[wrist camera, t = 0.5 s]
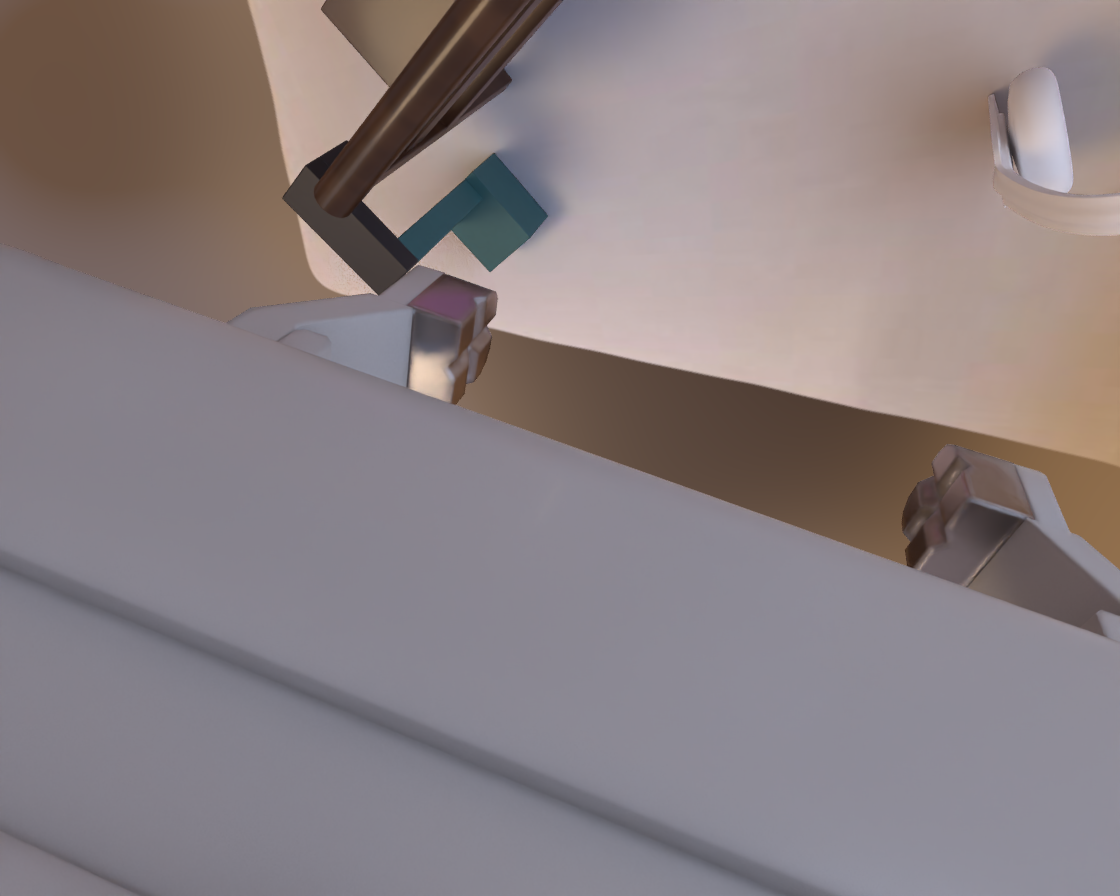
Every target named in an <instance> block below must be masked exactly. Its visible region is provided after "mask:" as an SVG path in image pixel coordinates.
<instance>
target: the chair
mask: <svg viewBox="0 0 1120 896" xmlns="http://www.w3.org/2000/svg"><path fill="white" fill-rule="evenodd" d="M562 1H563V0H326V1H325V3H324V5H323V6H322V8H321V10H322V11H323V13H324V14H325V15H326V16H327V17H328V18H329V19H330V21H331V22H332V23H333V24H334V25H335V26H336V27H337V28H338V30H339V31H340V32H341V33H342V34H343V35H344V36H345V37H346V39H347V40H348V41H349V42H350V43H351V44H352V45H353V47H354V48H355V49H356V50H357V51H358V52H359V53H360V54H361V56H362V57H363V58H364V59H365V60H366V61H367V62H368V64H369V65H370V66H371V67H372V68H373V69H374V70H375V71H376V73H377V74H378V75H379V76H380V77H381V78H382V79H383V81H384V82H385V83H386V84H387V85H388V86H389V89H388V90H387V91H386V93H385V94H384V95H383V97H382V98H381V99H380V101H379V102H378V103H377V105H376V106H375V107H374V109H373V110H372V111H371V113H370V114H369V115H368V117H367V118H366V119H365V121H364V122H363V123H362V125H361V126H360V127H359V128H358V130H357V131H356V132H355V134H354V135H353V136H352V138H351V139H350V140H349V142H348V143H347V144H346V146H345V147H344V148H343V150H342V151H341V152H340V154H339V155H338V156H337V158H336V159H335V160H334V162H333V163H332V164H331V166H330V167H329V168H328V170H327V171H326V172H325V174H324V175H323V176H322V177H321V179H320V180H319V181H318V183H317V184H316V185H315V187H314V197H315V200H316V202H317V203H318V205H319V206H320V207H321V208H322V209H323V210H324V211H325V212H326V213H328V214H330V215H331V216H334V217H337V218H345V217H348V216H349V215H350V214H351V213H352V212H353V210H354V209H355V208H356V207H357V206H358V205H359V203H360V202H361V201H362V200H363V199H364V197H365V196H366V195H367V194H368V193H369V191H370V190H371V189H372V188H373V187H374V186H375V185H376V184H378V183H379V182H380V181H382V180H383V179H384V178H386V177H387V176H389V175H390V174H391V173H393V172H394V171H395V170H397V169H398V168H399V167H401V166H402V165H403V164H405V163H406V162H408V161H409V160H410V159H412V158H413V157H414V156H416V155H417V154H418V153H420V152H421V151H422V150H424V149H425V148H427V147H428V146H429V145H431V144H432V143H433V142H435V141H436V140H438V139H439V138H440V137H442V136H443V135H444V134H446V133H447V132H448V131H450V130H451V129H452V128H454V127H455V126H457V125H458V124H459V123H461V122H462V121H463V120H465V119H466V118H467V117H469V116H470V115H471V114H473V113H474V112H476V111H477V110H478V109H480V108H481V107H482V106H484V105H485V104H486V103H488V102H489V101H490V100H492V99H493V98H495V97H496V96H497V95H499V94H500V93H501V92H503V91H504V89H505V88H506V87H507V86H508V85H509V84H510V83H511V82H512V79H511V78H510V76H509V75H508V74H507V73H506V71H505V70H504V69H503V68H504V67H505V66H506V65H507V64H508V63H509V62H510V60H511V59H512V58H513V57H514V56H515V55H516V54H517V52H518V51H519V50H520V49H521V48H522V47H523V46H524V44H525V43H526V42H527V41H528V40H529V39H530V38H531V36H532V35H533V34H534V33H535V32H536V31H537V30H538V29H539V27H540V26H541V25H542V24H543V23H544V22H545V21H546V19H547V18H548V17H549V16H550V15H551V14H552V13H553V11H554V10H555V9H556V8H557V7H558V6H559V5H560V4H561V2H562Z"/></svg>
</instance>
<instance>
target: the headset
mask: <svg viewBox="0 0 1120 896" xmlns="http://www.w3.org/2000/svg"><path fill="white" fill-rule="evenodd" d="M988 100H989V114H990V126H991V138H992V148H993V155H994V161H995V167H994V175H993V188H994V190H995V191H996V192H997V193H999V194H1000V195H1001V196H1002V199H1003V204H1004V207H1005V208H1006V207H1009V208H1010V209H1012V210H1013V211H1014V212H1016V213H1017V214H1019V215H1021V216H1022V217H1024V218H1026V219H1028V220H1030V221H1032V222H1034V223H1036V224H1038V225H1041V226H1043V227H1046V228H1049V229H1053V230H1056V231H1061V232H1066V233H1071V234H1079V235H1093V236H1109V235H1120V193H1115V194H1101V195H1077V194H1068V193H1067V192H1068V191H1069V190H1070V189H1071V187H1072V184H1073V167H1072V160H1071V153H1070V146H1069V140H1068V134H1067V128H1066V123H1065V117H1064V112H1063V107H1062V101H1061V97H1060V92H1059V87H1058V83H1057V79H1056V77H1055V75H1054V73H1053V72H1052V71H1051V70H1050V69H1048V68H1043V67H1038V68H1032V69H1029V70H1026V71H1024V72H1022V73H1021V74H1019V75H1018V76H1017V77H1016V78H1015V79H1014V80H1013V81H1012V82H1011V84H1010V87H1009V97H1008V100H1007V101H1008V125H1009V135H1008V131H1007V126H1006V122H1005V117H1004V113H1000V114H999V112H998V107H997V104H996V101H995V97H994V94H992V95H989V98H988ZM1012 156H1013V159H1014V161H1015V164H1016V167H1017V170H1018V173H1019V175H1018V174H1017V173H1015V172H1014V169H1013V160H1012Z"/></svg>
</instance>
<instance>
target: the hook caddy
mask: <svg viewBox="0 0 1120 896" xmlns="http://www.w3.org/2000/svg"><path fill="white" fill-rule="evenodd" d="M348 142H349V141H347V140H346V141H344V142H343V143H341V144H340V145H338V146H336V147H335V148H333V149H331V150H330V151H328V152H326V153H325V154H323V155H321V156H320V157H318V158H317V159H315V160H313V161H312V162H310V163H308V164H307V165H305V167H304V168H303V169H302V171H301V172H300V174H299V175H298V176H297V178H296V179H295V181H294V182H293V183H292V185H291V186H290V187H289V189H288V190H287V192H286V193H285V194H284V196H283V199H284V201H285V202H286V203H287V204H288V205H289V206H290V207H291V208H292V209H293V210H294V211H295V212H296V213H297V214H298V215H299V216H300V217H301V218H302V219H303V220H304V221H305V222H306V223H307V224H308V225H309V226H310V227H311V228H312V229H313V230H314V231H315V232H316V233H317V234H318V235H319V236H320V237H321V238H322V239H323V240H324V241H325V242H326V243H327V244H328V245H329V246H330V247H331V248H332V249H333V250H334V251H335V252H336V253H337V254H338V255H339V256H340V257H341V258H342V259H343V260H344V261H345V262H346V263H347V264H348V265H349V266H350V267H351V268H352V269H353V270H354V271H355V272H356V273H357V274H358V275H359V276H360V277H361V278H362V279H363V280H364V281H365V282H366V283H367V284H368V285H369V286H370V287H371V288H372V289H373V290H374V291H375V292H376V293H377V294H378V295H380V294H381V293H382V292H384V291H385V290H386V289H387V288H389V287H390V286H391V285H393V284H394V283H395V282H397V281H398V280H399V279H400V278H402V277H403V276H404V275H405V274H406V273H407V272H408V271H409V270H410V269H411V268H412V267H413V266H414V265H415V264H417V263H418V262H419V261H420V260H421V259H422V258H423V257H424V256H425V255H426V254H427V253H428V252H429V251H430V250H431V249H432V248H433V247H434V246H435V245H436V244H437V243H438V242H439V241H440V240H441V239H442V238H443V237H444V236H446V235H447V234H448V233H449V232H450V231H451V230H452V231H453V233H454V234H455V235H456V236H457V237H458V238H459V239H460V240H461V241H462V242H463V243H464V245H465V246H466V247H467V248H468V249H469V250H470V251H471V252H472V253H473V254H474V255H475V257H476V258H477V259H478V260H479V261H480V262H481V263H482V264H483V265H484V266H485V267H486V269H487V270H488V271H489V272H491V271H492V270H493V269H494V268H496V267H497V266H498V265H499V264H500V263H501V262H502V261H504V260H505V259H506V258H507V257H508V256H509V255H511V254H512V253H513V252H514V251H515V250H516V249H518V248H519V247H520V246H521V245H522V244H523V243H524V242H526V241H527V240H528V239H529V238H530V237H531V236H532V235H533V234H534V232H535V231H536V230H537V229H538V227H539V226H540V225H541V224H542V223H543V221H544V220H545V219H546V218H547V217H548V215H547V214H546V213H545V212H544V211H543V209H542V208H541V207H540V206H539V205H538V204H537V202H536V201H535V200H534V199H533V198H532V197H531V195H530V194H529V193H528V192H527V191H526V190H525V188H524V187H523V186H522V185H521V184H520V183H519V181H518V180H517V179H516V178H515V177H514V176H513V174H512V173H511V172H510V171H509V170H508V169H507V167H506V166H505V165H504V164H503V163H502V162H501V160H500V159H499V158H498V157H497V156H496V155H495V153H493V154H492V155H491V156H490V157H489V158H488V159H486V160H485V161H484V162H483V163H482V164H481V165H480V166H478V167H477V168H476V169H475V170H474V171H473V172H472V173H471V174H470V175H469V176H468V177H467V178H466V179H465V180H464V181H462V182H461V183H460V184H459V185H458V186H457V187H456V188H454V189H453V190H452V191H451V192H450V193H449V194H448V195H447V196H445V197H444V198H443V199H442V200H441V201H440V202H439V203H437V204H436V205H435V206H434V207H433V208H432V209H431V210H429V211H428V212H427V213H426V214H425V215H424V216H423V217H421V218H420V219H419V220H418V221H417V222H416V223H415V224H413V225H412V226H411V227H410V228H409V229H408V230H407V231H405V232H404V233H403V234H402V235H401V236H400V237H399V238H397V237H396V236H395V235H394V234H393V233H392V232H391V231H390V230H389V229H388V228H387V227H386V226H385V225H384V224H383V223H382V222H381V220H380V219H379V218H378V217H377V216H376V215H375V214H374V213H373V212H372V211H371V210H370V209H369V208H368V207H367V206H366V205H365V204H364V203H363V202H362V201H361V202H360V203H359V205H358V206H357V207H356V208H355V209H354V210H353V212H352V213H351V214H350V215H349V216H348V217H345V218H337V217H334V216H331V215H330V214H328V213H326V212H325V211H324V210H323V209H322V208H321V207H320V206H319V205H318V203H317V202H316V200H315V197H314V187H315V185H316V184H317V183H318V181H319V180H320V179H321V177H322V176H323V175H324V174H325V172H326V171H327V170H328V168H329V167H330V166H331V164H332V163H333V162H334V160H335V159H336V158H337V156H338V155H339V154H340V152H341V151H342V150H343V148H344V147H345V146H346V144H347V143H348Z"/></svg>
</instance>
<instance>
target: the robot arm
mask: <svg viewBox="0 0 1120 896" xmlns="http://www.w3.org/2000/svg"><path fill="white" fill-rule="evenodd" d="M497 300H498V298H497V293H496V291H493V290H490V289H487V288H484V287H481V286H479V285H476V284H473V283H470V282H467V281H465V280H462V279H459V278H456V277H453V276H450V275H447V274H445V273H444V272H441V271H437V270H434V269H430V268H427V267H424V266H420V265H418V266H416V267H415V268H413V269H412V270H411V271H410V272H408V273H407V274H406V275H404V276H403V277H402V278H400V279H399V280H398V281H397V282H395V283H394V284H393V285H391V286H390V287H389V288H387V289H386V290H385V291H384V292H382V293H381V294H380V295H378V296H377V295H374V294H371V293H368V294H360V295H352V296H344V297H336V298H327V299H320V300H311V301H303V302H295V303H287V304H278V305H271V306H262V307H254V308H250V309H248V310H246V311H245V312H243V313H241V314H240V315H238V316H236V317H235V318H233V319H232V320H230V321H228V322H227V323H223V322H220V321H218V320H215V319H212V318H209V317H206V316H204V315H201V314H198V313H195V312H192V311H190V310H187V309H184V308H181V307H178V306H175V305H173V304H170V303H167V302H164V301H162V300H159V299H156V298H153V297H150V296H147V295H145V294H142V293H139V292H136V291H133V290H131V289H128V288H125V287H122V286H119V285H116V284H114V283H111V282H108V281H105V280H102V279H100V278H97V277H94V276H91V275H88V274H86V273H83V272H80V271H77V270H74V269H71V268H69V267H66V266H63V265H60V264H58V263H56V262H53V261H50V260H48V259H45V258H43V257H40V256H38V255H35V254H33V253H30V252H27V251H24V250H21V249H18V248H15V247H12V246H10V245H6V244H1V243H0V896H1120V570H1119V569H1118V568H1117V567H1115V566H1114V565H1113V564H1112V563H1111V562H1110V561H1109V560H1107V559H1106V558H1105V557H1104V556H1102V554H1100V553H1099V552H1098V551H1097V550H1096V549H1094V548H1093V547H1092V546H1091V545H1090V544H1088V543H1087V542H1086V541H1085V540H1084V539H1083V538H1082V537H1081V536H1079V535H1076V534H1073V533H1070V531H1069V529H1068V527H1067V524H1066V522H1065V520H1064V517H1063V515H1062V512H1061V510H1060V508H1059V506H1058V503H1057V501H1056V498H1055V496H1054V494H1053V491H1052V489H1051V486H1050V484H1049V482H1048V479H1047V477H1046V475H1044V474H1043V473H1041V472H1040V471H1036V470H1033V469H1029V468H1026V467H1022V466H1019V465H1015V464H1014V463H1011V462H1008V461H1005V460H1002V459H998V458H995V457H992V456H989V455H985V454H982V453H978V452H975V451H973V450H969V449H966V448H962V447H959V446H956V445H949V444H947V445H946V446H945V447H944V448H943V449H942V450H941V451H940V452H939V453H938V455H937V456H936V457H935V459H934V460H933V462H932V468H933V474H934V476H932V477H930V478H927V479H925V480H923V481H920V482H918V483H917V485H916V487H915V488H914V490H913V491H912V493H911V494H910V496H909V498H908V500H907V503H906V505H905V508H904V511H903V516H902V531H903V533H904V535H905V536H906V537H907V538H908V539H909V540H910V544H909V545H908V546H907V548H906V549H905V553H906V561H907V566H905V565H902V564H899V563H896V562H893V561H891V560H888V559H885V558H882V557H879V556H877V555H874V554H871V553H868V552H866V551H863V550H860V549H857V548H854V547H851V546H848V545H846V544H843V543H840V542H838V541H835V540H832V539H829V538H826V537H824V536H821V535H818V534H815V533H812V532H810V531H807V530H804V529H801V528H798V527H796V526H792V525H790V524H787V523H784V522H782V521H779V520H776V519H773V518H770V517H768V516H765V515H762V514H759V513H756V512H754V511H751V510H748V509H745V508H742V507H740V506H736V505H734V504H731V503H728V502H726V501H723V500H720V499H717V498H714V497H712V496H709V495H706V494H703V493H700V492H698V491H695V490H692V489H689V488H686V487H684V486H681V485H678V484H675V483H672V482H669V481H667V480H664V479H661V478H658V477H655V476H653V475H650V474H647V473H644V472H641V471H639V470H636V469H633V468H630V467H627V466H624V465H622V464H619V463H616V462H613V461H611V460H608V459H605V458H602V457H599V456H597V455H594V454H591V453H588V452H585V451H583V450H580V449H577V448H574V447H571V446H569V445H566V444H563V443H560V442H557V441H555V440H552V439H549V438H546V437H543V436H541V435H538V434H535V433H532V432H529V431H527V430H523V429H521V428H518V427H515V426H513V425H510V424H507V423H504V422H501V421H498V420H496V419H493V418H490V417H487V416H485V415H482V414H479V413H476V412H473V411H470V410H467V409H465V408H462V407H459V406H457V405H456V404H457V403H458V401H459V400H460V399H461V398H462V396H463V395H464V394H465V387H466V384H468V383H472V382H474V381H475V380H476V379H477V377H478V376H479V375H480V373H481V371H482V369H483V367H484V365H485V363H486V360H487V356H488V353H489V350H490V345H491V339H492V336H491V333H490V331H489V329H488V327H487V324H488V323H489V322H490V321H491V320H492V319H493V318H494V316H495V315H496V308H497Z"/></svg>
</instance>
